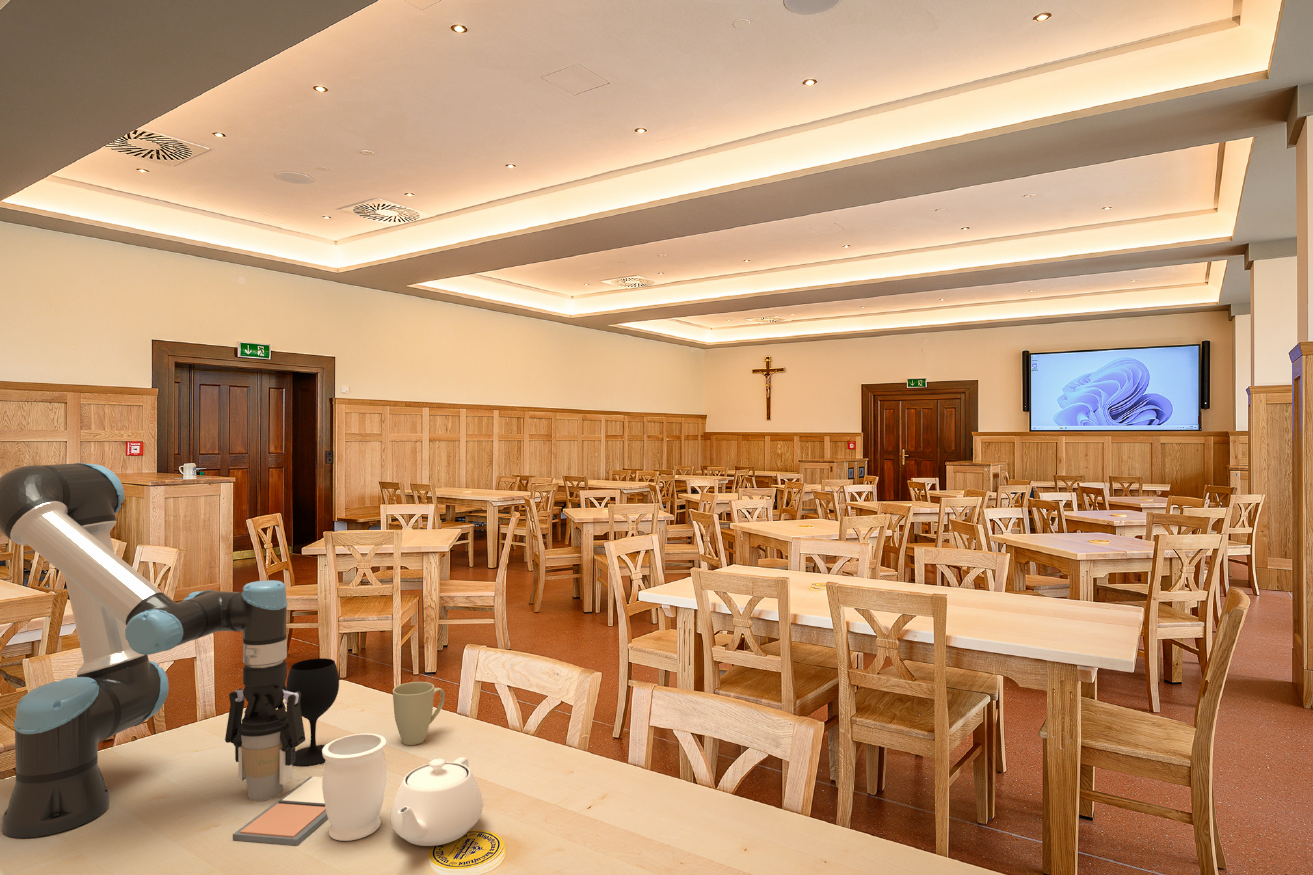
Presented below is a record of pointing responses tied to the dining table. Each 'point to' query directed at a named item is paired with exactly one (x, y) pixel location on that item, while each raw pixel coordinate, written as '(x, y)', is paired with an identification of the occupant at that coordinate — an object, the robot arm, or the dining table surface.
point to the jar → (354, 784)
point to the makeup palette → (288, 817)
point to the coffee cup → (262, 755)
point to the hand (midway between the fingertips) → (265, 779)
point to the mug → (415, 710)
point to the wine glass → (313, 700)
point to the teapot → (437, 803)
